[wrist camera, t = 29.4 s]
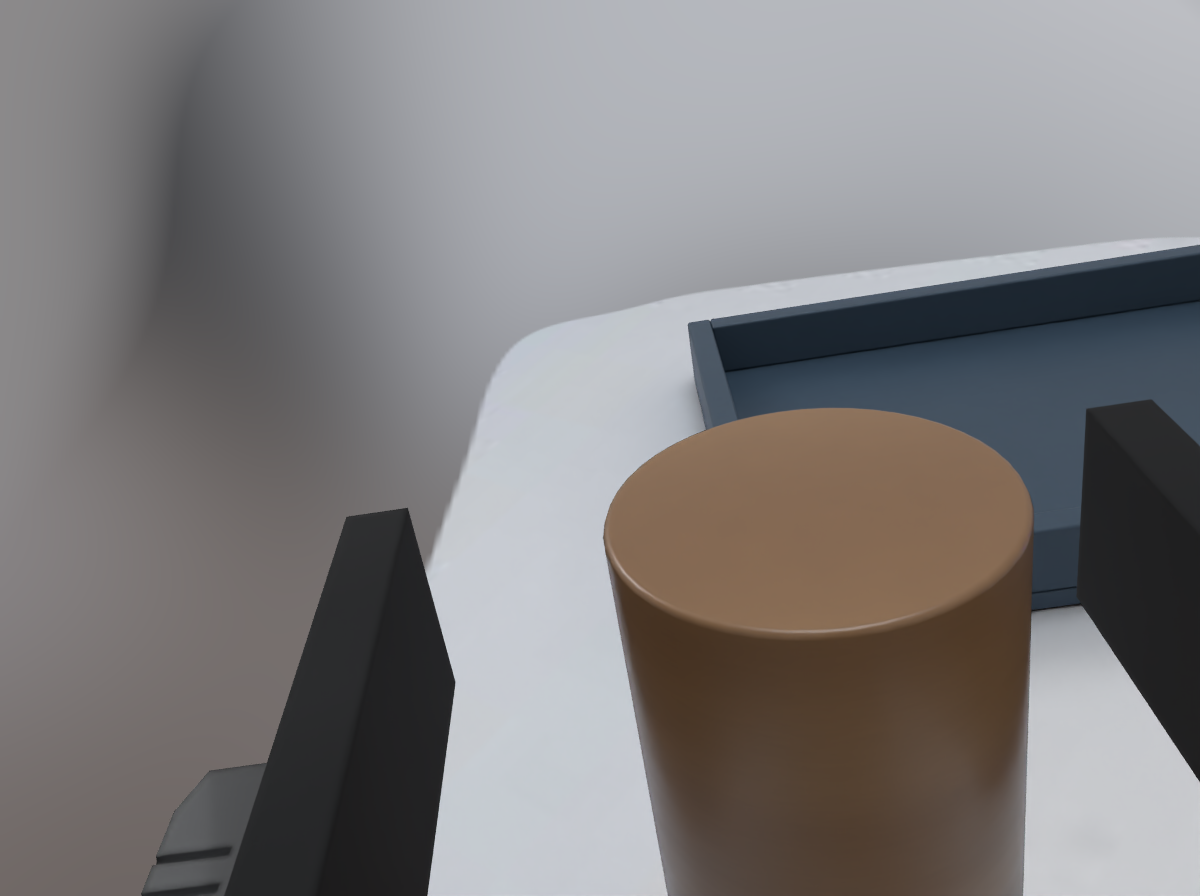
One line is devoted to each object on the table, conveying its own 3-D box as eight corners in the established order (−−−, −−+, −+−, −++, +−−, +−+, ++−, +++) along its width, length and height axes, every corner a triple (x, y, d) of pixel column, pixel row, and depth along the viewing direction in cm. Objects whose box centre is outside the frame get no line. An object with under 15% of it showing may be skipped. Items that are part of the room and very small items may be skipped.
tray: (757, 648, 28) (748, 572, 27) (694, 380, 42) (687, 322, 41) (1806, 504, 27) (1841, 417, 26) (1386, 276, 41) (1397, 213, 39)
